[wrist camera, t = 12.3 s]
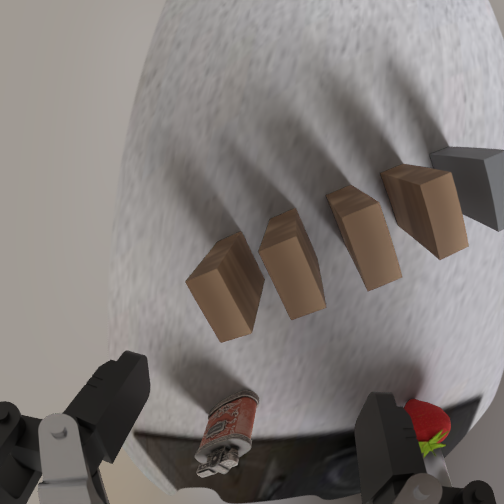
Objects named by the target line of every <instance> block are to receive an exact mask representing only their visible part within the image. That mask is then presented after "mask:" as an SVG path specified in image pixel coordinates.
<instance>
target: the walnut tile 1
mask: <svg viewBox="0 0 504 504" xmlns="http://www.w3.org/2000/svg"><path fill="white" fill-rule="evenodd" d="M264 281H265V279H264V277H263V275H262V273H261V271H260V268H259V266H258V264H257V262H256V260H255V258H254V256H253V254H252V252H251V250H250V248H249V246H248V244H247V242H246V240H245V238H244V236H243V234H242V232H238V233H236V234H234V235H231V236H229V237H227V238H225V239H222V240H220V241H218V242H217V243H216V244H215V245H214V247H213V248H212V249H211V250H210V252H209V253H208V254H207V255H206V256H205V258H204V259H203V260H202V261H201V263H200V264H199V265H198V266H197V268H196V269H195V270H194V271H193V273H192V274H191V275H190V276H189V277H188V279H187V280H186V281H185V282H186V284H187V286H188V288H189V289H190V291H191V293H192V295H193V297H194V298H195V300H196V302H197V304H198V305H199V307H200V309H201V310H202V312H203V314H204V316H205V317H206V319H207V321H208V322H209V324H210V326H211V327H212V329H213V331H214V332H215V334H216V336H217V337H218V339H219V341H220V342H221V343H222V342H225V341H229V340H232V339H235V338H238V337H242V336H245V335H248V334H251V333H252V331H253V327H254V323H255V319H256V315H257V310H258V306H259V302H260V298H261V294H262V289H263V285H264Z"/></svg>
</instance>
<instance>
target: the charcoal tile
mask: <svg viewBox="0 0 504 504" xmlns="http://www.w3.org/2000/svg"><path fill="white" fill-rule="evenodd" d="M429 155H430V158H431V161H432V164H433V167H434V169H437V170H443V171H448V172H451V173H452V177H453V180H454V184H455V187H456V191H457V195H458V199H459V202H460V207H461V211H462V214H463V215H465V216H468V217H470V218H472V219H474V220H476V221H478V222H480V223H482V224H484V225H486V226H488V227H490V228H492V229H494V230H496V231H498V232H499V231H501V230H503V229H504V150H499V149H486V148H469V147H447V148H445V149H442V150H439V151H437V152H434V153H431V154H429Z"/></svg>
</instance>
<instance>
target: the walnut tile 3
mask: <svg viewBox="0 0 504 504" xmlns="http://www.w3.org/2000/svg"><path fill="white" fill-rule="evenodd" d="M326 197H327V200H328V202H329V204H330V207H331V209H332V212H333V214H334V217H335V219H336V222H337V224H338V227H339V229H340V232H341V235H342V237H343V240H344V242H345V245H346V248H347V250H348V252H349V254H350V256H351V258H352V260H353V262H354V264H355V266H356V268H357V270H358V272H359V274H360V276H361V278H362V280H363V282H364V284H365V286H366V289H367V291H370V290H373V289H375V288H378V287H380V286H383V285H385V284H387V283H390V282H392V281H395V280H397V279H399V278H402V274H401V270H400V267H399V263H398V260H397V256H396V253H395V250H394V246H393V243H392V240H391V237H390V233H389V230H388V227H387V224H386V221H385V218H384V215H383V212H382V209H381V206H380V204H379V202H378V201H376V200H375V199H373V198H372V197H370V196H368V195H367V194H365V193H364V192H362V191H360V190H359V189H357V188H356V187H354V186H352V185H349V186H347V187H345V188H342V189H340V190H337V191H335V192H332V193H330V194H328V195H326Z"/></svg>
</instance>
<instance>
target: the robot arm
mask: <svg viewBox="0 0 504 504" xmlns="http://www.w3.org/2000/svg"><path fill="white" fill-rule="evenodd" d="M149 393H150V378H149V370H148V362H147V357H146V356H145V355H141V354H138V353H134V352H131V351H125V352H124V353H123V354H122V355H121V356H120V358H119V359H118V360H117V361H114V360H110V361H108V362H106V363H105V364H103V365H102V366H100V367H99V368H98V369H97V370H96V372H95V373H94V374H93V375H92V378H90V379H89V381H88V382H87V384H86V385H85V386H84V387H83V388H82V389H81V391H80V392H79V393H78V394H77V396H76V397H75V398H74V400H73V401H72V402H71V403H70V405H69V406H68V407H67V409H66V410H65V411H64V412H63V413H55V414H51V415H49V416H47V417H45V418H44V419H38V418H33V417H29V416H24V415H21V413H20V411H19V409H18V408H17V407H16V406H15V405H14V404H12V403H10V402H6V401H5V402H0V467H1V468H0V504H26V503H27V501H28V499H29V497H30V496H31V494H32V492H33V490H34V488H35V486H36V485H37V483H38V481H39V479H40V478H41V476H42V474H43V482H42V483H39V484H38V495H39V501H40V504H110V503H109V500H108V497H107V494H106V491H105V488H104V484H103V481H102V478H101V474H100V470H99V465H100V463H101V462H102V460H104V461H106V462H109V463H112V464H113V462H114V460H115V458H116V456H117V455H118V453H119V451H120V449H121V447H122V445H123V443H124V442H125V440H126V438H127V436H128V434H129V432H130V431H131V429H132V427H133V425H134V423H135V421H136V420H137V418H138V416H139V414H140V412H141V410H142V409H143V407H144V405H145V403H146V401H147V399H148V397H149ZM416 438H417V436H416V432H415V430H414V426H413V423H412V419H411V416H410V415H409V414H408V413H407V411H406V410H405V409H404V408H403V407H397V406H396V402H395V399H394V396H393V394H392V393H385V392H371V393H370V394H369V396H368V398H367V400H366V402H365V404H364V406H363V408H362V410H361V412H360V414H359V416H358V418H357V420H356V424H355V441H356V449H357V457H358V466H359V475H360V485H361V496H362V504H496V501H495V497H494V493H493V490H492V488H491V487H490V486H489V485H488V484H487V483H486V482H484V481H480V480H476V481H472V482H470V483H469V484H468V485H467V486H465V487H464V488H454V487H452V484H451V481H450V477H449V474H448V471H447V468H446V464H445V461H444V458H443V455H442V452H441V449H440V447H439V448H436V449H433V452H434V453H435V455H436V456H435V455H434V454H433V452H432V451H429V453H428V454H427V455H426V456H425V457H424V458H423V456H424V453H421V449H420V446H419V442H418V439H416Z"/></svg>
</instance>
